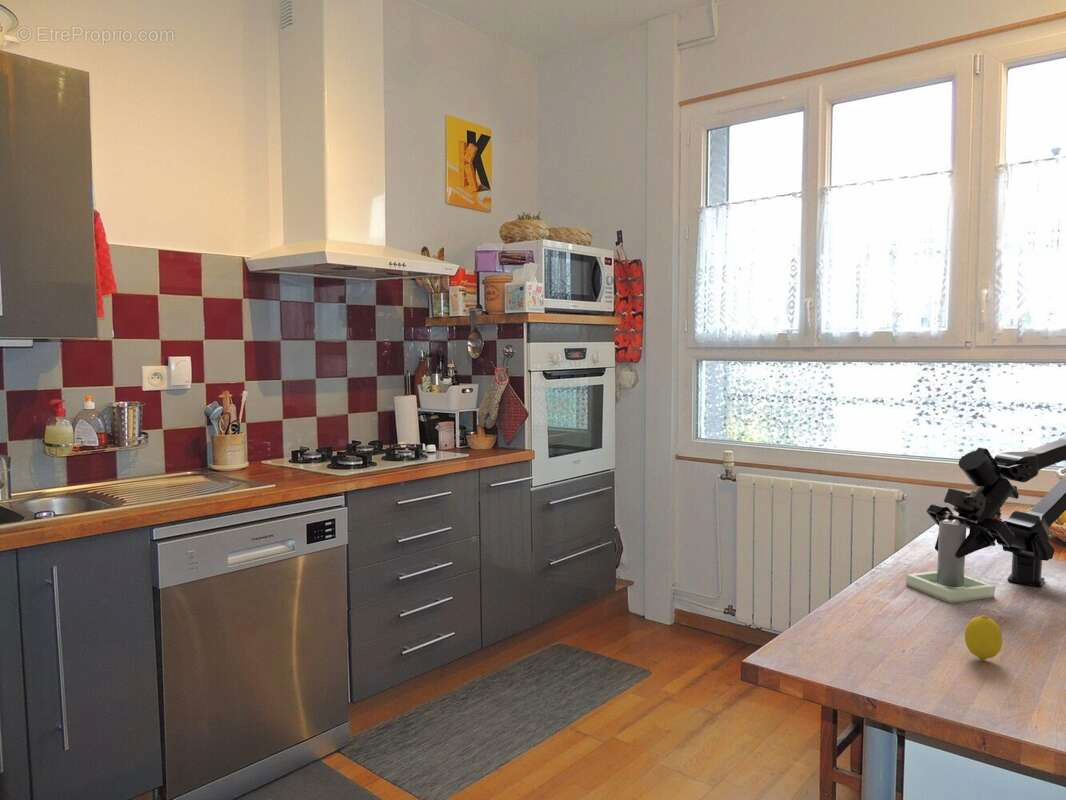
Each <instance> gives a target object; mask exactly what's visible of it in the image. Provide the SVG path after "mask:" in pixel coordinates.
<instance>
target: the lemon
mask: <svg viewBox="0 0 1066 800" xmlns="http://www.w3.org/2000/svg"><path fill="white" fill-rule="evenodd" d="M964 640H965V641H964V642H965V645H966V647H967V649H968V650H969V652H970V653H971V654H973V655H974V656H976V657H977V658H978V659H979V660H980V661H983V662H984V661H986V660H987V659H992V658H994V657H996V656H997V655H998V654H999V653H1000V651H1001V649H1002V646H1003V634H1002V630H1001V627H1000V626H999V624H998V623H997V622H996V621H995V620H993V619H992V618H990V617H989V616H987V615H986V614H982V615H981V616H980V615H979V616H975V617H973V618H972V619H970V620H969V621H968V623H967V625H966V627H965V630H964Z"/></svg>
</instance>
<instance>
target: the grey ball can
mask: <svg viewBox="0 0 1066 800" xmlns="http://www.w3.org/2000/svg"><path fill="white" fill-rule="evenodd" d="M966 525H967V524H966V523H964V522H960V521H958V520H947V519H946V520H941V521H939V526H938V534H939V539H938V551H937V563H936V564H937V565H936V567H937V569H936V571H937V583H938V584H940V585H943V586H947V587H963V586H964V575H965V568H966V567H965V566H966V556H963V557H961V558H957V557H956V556H955V554H956V552H957V551H958V549H959V547H960V546H961V545H962V543H963V542H964V541H965V539H966V538H967V527H966Z"/></svg>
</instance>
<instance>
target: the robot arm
mask: <svg viewBox="0 0 1066 800" xmlns="http://www.w3.org/2000/svg"><path fill="white" fill-rule="evenodd" d="M1064 461H1065V462H1066V436H1062V437H1060V438H1059V439H1056V440H1055V441H1051V442H1048V443H1046V444H1045V443H1044V444H1043V445H1040V446H1037V447H1035V448H1032V449H1029V450H1025V451H1007V452H1000V453H998V454H996V455H995V456H994V457H993V456H992V455H991V452H990V451H989V450H988V448H985V447H978V448H977V449H976V450H973V451H970V452H968V453H966V454H964V455H962V456H961V458H959V461H958V466H959V469H960V470H961V471H962V472H963V474H964V475H965V476H966V477H967V479H969V481H970V482H971V483H972V485H974V486H976V487H978V488H977V489H976V491H975V490H971V491H970V492H966V491H963V490H959V489H954V488H948V489H947V491H946V494H945V496H944V500H943V502H944V503H946V504H950V505H952V506H954V507H953V510H954V511H955V512H956V513H958V514H957V515H956V514H954V513H953V512H952V510H951V508H949V507H948V506H945V505H943V504H942V505H941V504H938V503H931V504H930V505H929V507H928V508H927V509H926V511H925V512H926V514H928V516H929V517H930V518H931V519H932V521H934V523H935V524H936V525H937V526H938V527H939V521H941V520H946V519H947V520H958V521H960V522H964V523H966V524H967V525H966V529H967V528H968V529H969V533H968V535H966V539H965V541H964V542H963V543H962V545H961V546H960V547H959V549H958V551H957V552H956V554H955V556H956V557H957V558H961V557H963V556H965V557H966V556H968V555H970V554H972V553H975V552H977V551H979V550H982V549H985V548H988V547H990V546H991V547H995V546H996V545H997V544H998V545H1000V546H1002V550H1003V551H1005V552H1009V553H1011V554H1012V556H1011V558H1012V559H1011V573H1010V574H1009V575H1008V577H1007V582H1009V583H1010V582H1011V583H1016V584H1020V585H1021V584H1023V585H1026V586H1027V585H1028V586H1031V587H1032V586H1033V587H1037V588H1038V587H1039V588H1041V587H1042V586H1043V585H1044V582H1045V577H1042V573H1043V572H1042V569H1043V561H1046V562H1047V561H1049V560H1052V559H1053V558H1054V554H1055V551H1056V550H1055V548H1054V547H1053V546H1052V544H1051V543H1050V542H1049V541H1048V540H1049V539H1050V527H1051V526H1052V525H1053V524H1054V523H1055V522H1056V521H1057V520H1058V519H1059V518H1060V517H1061V516H1062V515H1063V514H1064V513H1065V512H1066V474H1065V475H1064V476H1063V477H1062V478H1061V479H1060V480H1059V481H1058V482H1057V483H1056V484H1055V485H1054V486H1053V487H1052V488H1051V489H1049V491H1048V492H1047V493H1045V495H1044V496H1043V497H1042V498H1041V499H1040V500H1039V501H1038V502H1037V503H1036V504H1035V505H1033V507H1032V508H1031V509H1030V510H1029V511H1028V512H1023V511H1020V510H1015V511H1013V512H1012V513H1011V515H1010V516H1009V517H1007V519H1004V520H1002V521H1000V520H996V519H992V518H993V517H994V516H995V517H1000V516H1001V515H1002V513H1001V512H1000V511H999V509H1002V507H1003V505H1004V504H1005V503H1006V501H1007V500H1008V499H1009V498H1012V499H1016V500H1017V499H1019V498H1020V497H1019V496H1020V495H1019V492H1018V486H1016V485H1012V483H1011V482H1010V481H1014V482H1019V483H1028V482H1029V481H1030V480H1033V479H1034V478H1035V477H1038V474H1039V472H1040V471H1041V470H1042V469H1045V468H1047V467H1050V466H1053V465H1055V464H1056V465H1057V464H1058V463H1059V464H1060V463H1061V462H1064ZM1000 518H1001V517H1000ZM938 539H939V533H938V535H937V538H936V542H935V545H934V550H935V551H936V552H938ZM996 543H997V544H996Z"/></svg>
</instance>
